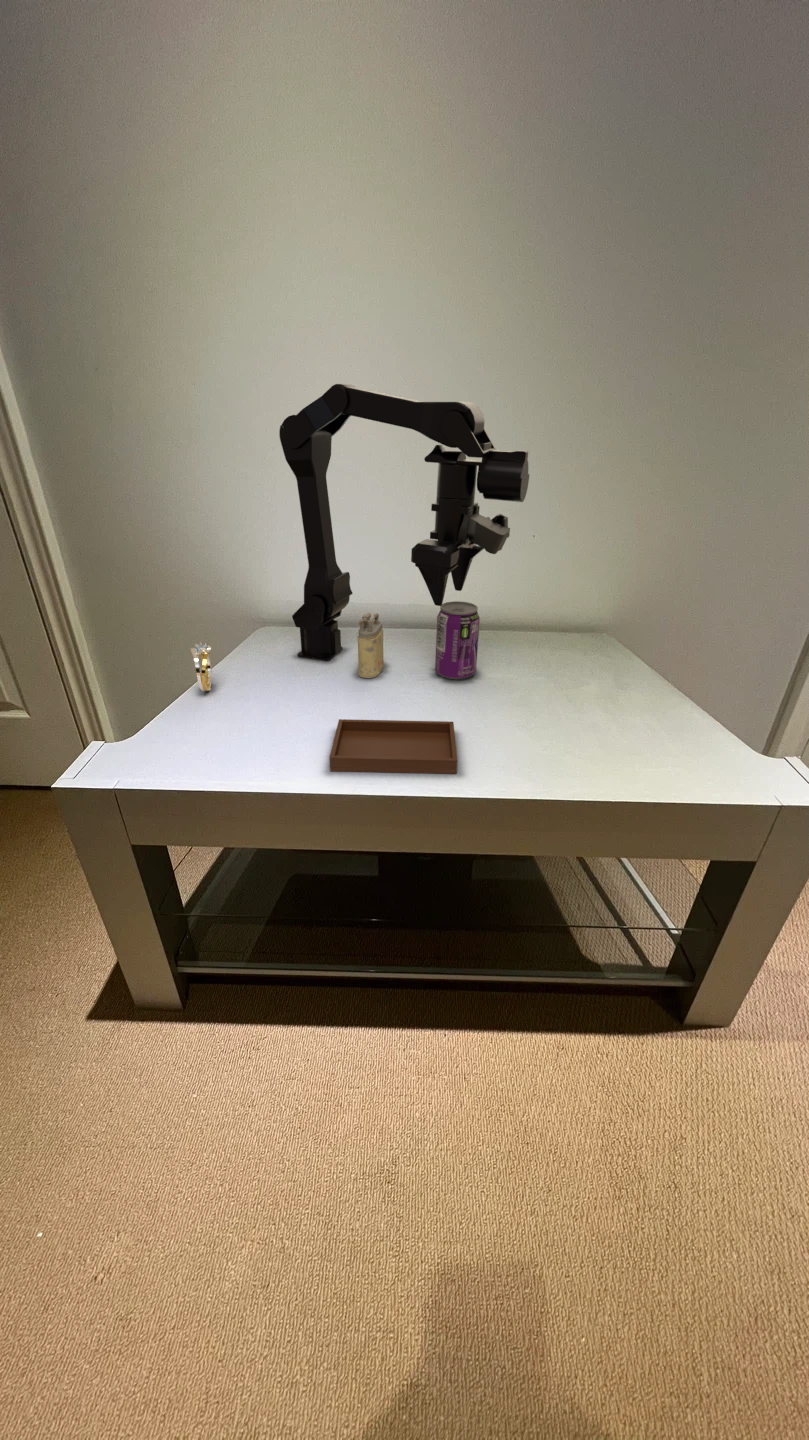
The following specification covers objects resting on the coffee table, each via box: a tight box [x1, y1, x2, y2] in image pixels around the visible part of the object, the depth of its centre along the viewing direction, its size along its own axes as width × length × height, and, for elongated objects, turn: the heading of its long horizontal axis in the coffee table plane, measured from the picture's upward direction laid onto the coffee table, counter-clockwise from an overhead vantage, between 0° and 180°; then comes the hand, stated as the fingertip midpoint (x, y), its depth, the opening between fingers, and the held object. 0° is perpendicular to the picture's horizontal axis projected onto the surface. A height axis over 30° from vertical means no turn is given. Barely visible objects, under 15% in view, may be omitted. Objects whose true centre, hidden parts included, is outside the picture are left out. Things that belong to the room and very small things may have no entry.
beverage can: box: [434, 600, 481, 680], centre depth 100 cm, size 7×7×12 cm
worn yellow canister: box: [357, 612, 385, 679], centre depth 101 cm, size 7×4×10 cm, turn 167°
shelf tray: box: [329, 718, 458, 775], centre depth 80 cm, size 16×10×2 cm, turn 89°
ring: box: [190, 641, 213, 692], centre depth 94 cm, size 7×3×8 cm, turn 5°
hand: (448, 597), depth 96 cm, fingers open, 9 cm apart
